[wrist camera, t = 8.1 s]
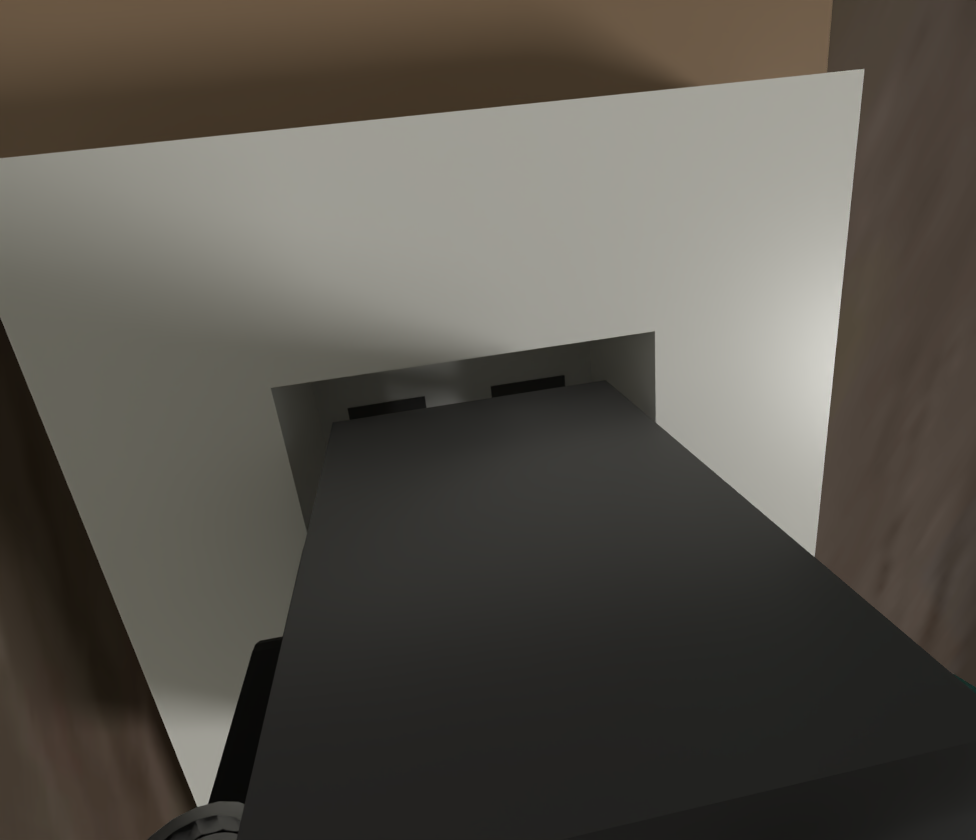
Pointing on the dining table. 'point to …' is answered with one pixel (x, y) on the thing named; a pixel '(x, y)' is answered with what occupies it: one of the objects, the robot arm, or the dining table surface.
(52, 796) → the dining table surface
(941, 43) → the dining table surface
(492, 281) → the socket
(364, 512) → the plug
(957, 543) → the dining table surface
